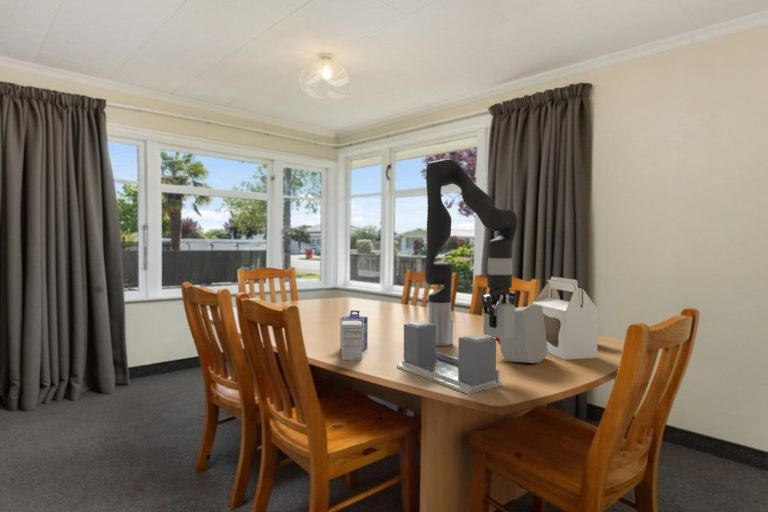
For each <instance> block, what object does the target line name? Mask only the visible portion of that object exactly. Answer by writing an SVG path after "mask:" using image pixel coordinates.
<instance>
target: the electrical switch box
mask: <svg viewBox="0 0 768 512" xmlns="http://www.w3.org/2000/svg"><path fill="white" fill-rule="evenodd" d="M491 338H496V342H497V343H498V344H499V345H500V346H499V347H500V352H501V354H502V357H503V359H504V361H505V362H509V363H510V362H511V363H524V364H525V363H529V364H534V363H535V364H536V363H537V364H538V363H541V362H542V361H543V360H544V359H546V357H548V356H549V353H548V348H547V340H546V332H545V324H544V316H543V308H542V306H538V305H532V304H529V305H528V306H520V307H519V306H518V307H515V327H514V337H511V338H507V339H501V338H497V337H493V336H491Z"/></svg>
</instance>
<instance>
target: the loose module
mask: <svg viewBox="0 0 768 512" xmlns="http://www.w3.org/2000/svg"><path fill="white" fill-rule="evenodd" d="M492 305H494V304H493V303H492ZM494 306H495V305H494ZM515 308H516V305H515V304H514V305H512V304H511V303H501V304H500V305H499V306H498V309H497V315H496V316H497V327H496V328H492V327H490V325H489V315H488V314H485V313H484V312H483V335H484V336H489V337H492V336H493V337H492V338H495V337H497V338H501V339H507V338H511V337H514V327H515ZM487 309H488V307H487ZM488 310H489V309H488ZM492 310H493V311H494V308H492Z"/></svg>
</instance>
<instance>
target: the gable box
mask: <svg viewBox="0 0 768 512" xmlns="http://www.w3.org/2000/svg"><path fill="white" fill-rule="evenodd" d="M547 282H548V283H547V284H546V285H545V286H544V287H543V288H542V290H541V291H540V292H539V294H538V295H537V296H536V298H534V301H532V304H531V305H538V306H542V308H543V316H544V324H545V332H546V340H547V348H548V354H551V355H553V356H556V357H558V358H559V359H563V360H565V361H566V360H567V361H568V360H585V359H586V360H587V359H597V358H598V335H599V334H598V331H599V330H598V329H599V328H598V326H599V322H598V321H599V310H598V308H597V307H596V306H595V304H594V303H593V301H592V300H591V298H590V297H589V296H588V294H587V292H586V291H585V290H584V289H583V288H580V287H579V280H577V279H574V278H565V277H558V276H551V277H550V279H547ZM558 290H559V291H565V292H572V294H571V297H570V299H569V301H568V300H564V299H561V298H560V294H559V293H558Z"/></svg>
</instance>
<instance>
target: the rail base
mask: <svg viewBox="0 0 768 512" xmlns="http://www.w3.org/2000/svg"><path fill="white" fill-rule="evenodd" d="M397 367H398V368H397ZM396 368H397V369H399V370H402V369H403V371H405V370H406V371H405V372H408V371H409V372H408V373H410V372H412V373H411V374H413V373H414V374H413V375H415V374H417V375H416V376H418V375H420V376H419V377H421V376H423V377H425V378H424V379H426V378H428V379H427V380H429V379H430V380H429V381H431V380H433V381H432V382H434V381H436V382H438V383H437V384H439V383H440V384H439V385H442V384H443V385H442V386H444V385H445V387H447V386H448V387H447V388H450V389H452V388H453V390H455V389H456V390H455V391H457V390H458V392H460V391H461V392H460V393H463V392H464V393H463V394H465V393H466V394H465V395H468V394H471V395H473V393H474V394H477V393H480V392H479V391H481V392H483V391H482V390H484V391H486V390H491V389H493V388H498V387H500V386H503V381H501V379H500V378H501V376H500V375H501V372H500V370H499V369H496V380H495V381H491V382H488V383H484V384H480V385H477V386H476V385H474V384H471V383H468V382H465V381H462V380H459V379H458V357H455V356H452V355H449V354H445V353H442V352H439V351H436V361H432V362H428V363H423V364H418V365H417V364H414V363H411V362H408V361H405V360H402V361H401V363H397V364H396ZM423 377H422V378H423ZM436 382H435V383H436ZM490 388H491V389H490ZM476 392H477V393H476Z"/></svg>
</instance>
